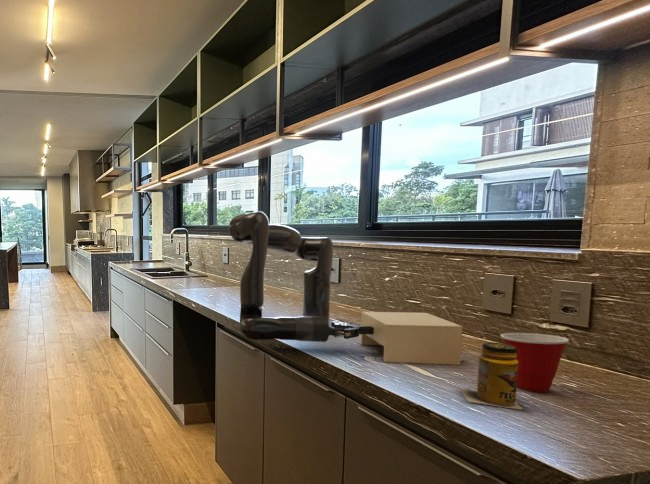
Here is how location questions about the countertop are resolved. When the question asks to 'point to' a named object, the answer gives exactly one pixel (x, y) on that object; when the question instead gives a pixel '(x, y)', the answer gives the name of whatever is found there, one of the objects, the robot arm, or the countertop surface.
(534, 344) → the plastic cup
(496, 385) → the condiment
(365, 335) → the cover
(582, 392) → the countertop surface
